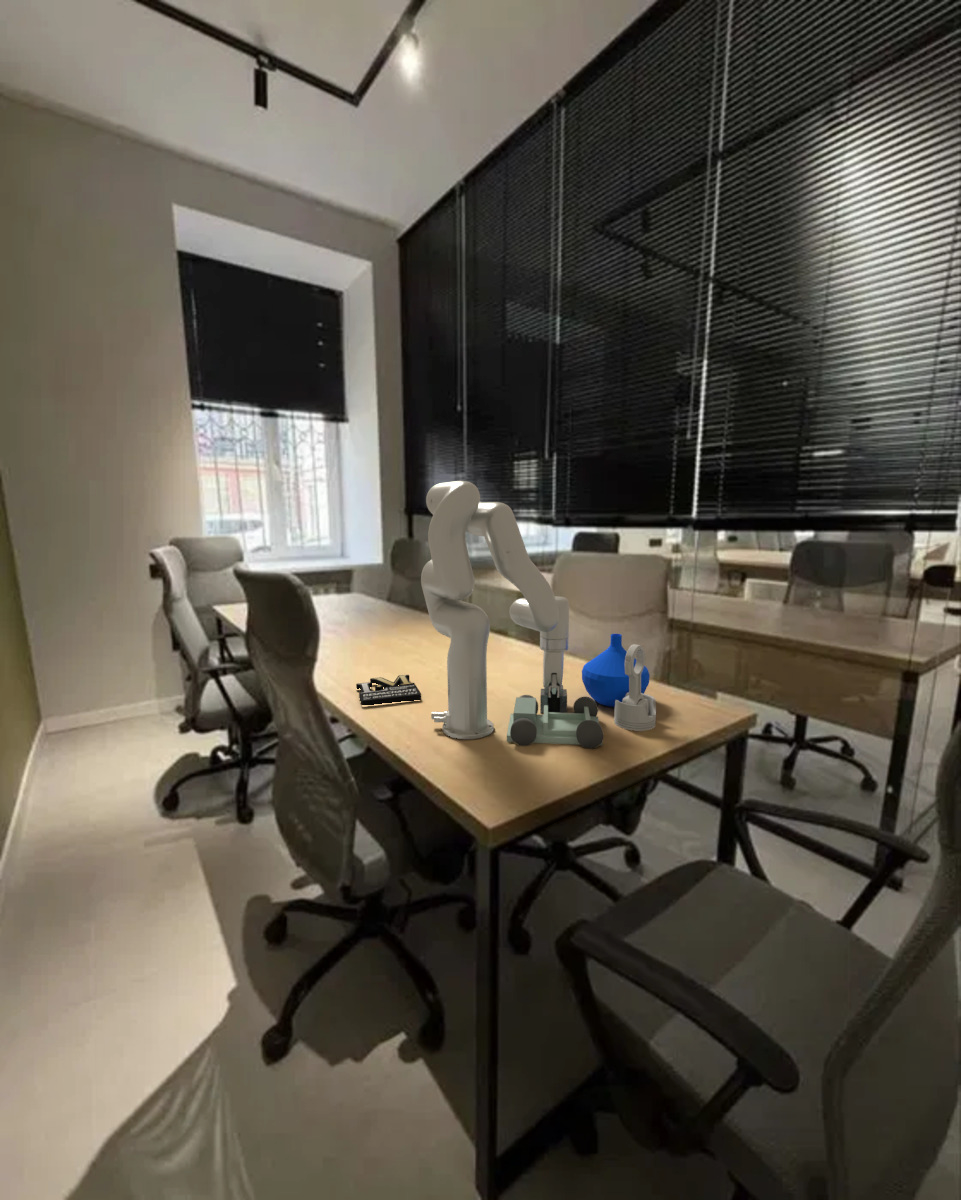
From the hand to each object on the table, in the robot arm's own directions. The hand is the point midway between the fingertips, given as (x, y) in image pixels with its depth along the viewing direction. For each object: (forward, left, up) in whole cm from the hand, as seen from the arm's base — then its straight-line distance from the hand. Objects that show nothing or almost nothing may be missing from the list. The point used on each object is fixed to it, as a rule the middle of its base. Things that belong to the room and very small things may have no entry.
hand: (553, 705), depth 149 cm
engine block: (0, 0, -1) cm, 1 cm away
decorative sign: (-49, +9, -2) cm, 50 cm away
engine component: (+20, -8, -1) cm, 22 cm away
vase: (+17, +8, -1) cm, 19 cm away
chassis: (0, -15, -1) cm, 15 cm away
